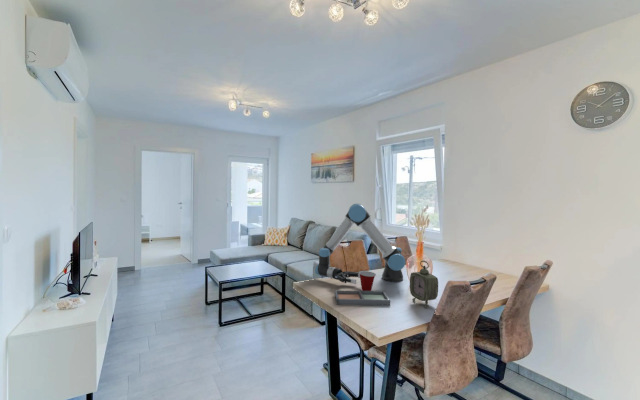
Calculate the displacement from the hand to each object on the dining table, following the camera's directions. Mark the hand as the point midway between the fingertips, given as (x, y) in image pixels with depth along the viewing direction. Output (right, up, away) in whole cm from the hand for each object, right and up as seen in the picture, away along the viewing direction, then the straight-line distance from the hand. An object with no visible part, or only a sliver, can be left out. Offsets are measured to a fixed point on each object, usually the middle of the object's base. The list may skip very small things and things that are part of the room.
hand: (361, 279), depth 197 cm
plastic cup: (+3, -7, -2) cm, 8 cm away
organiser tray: (-2, -7, -18) cm, 20 cm away
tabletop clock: (+33, -8, -22) cm, 40 cm away
